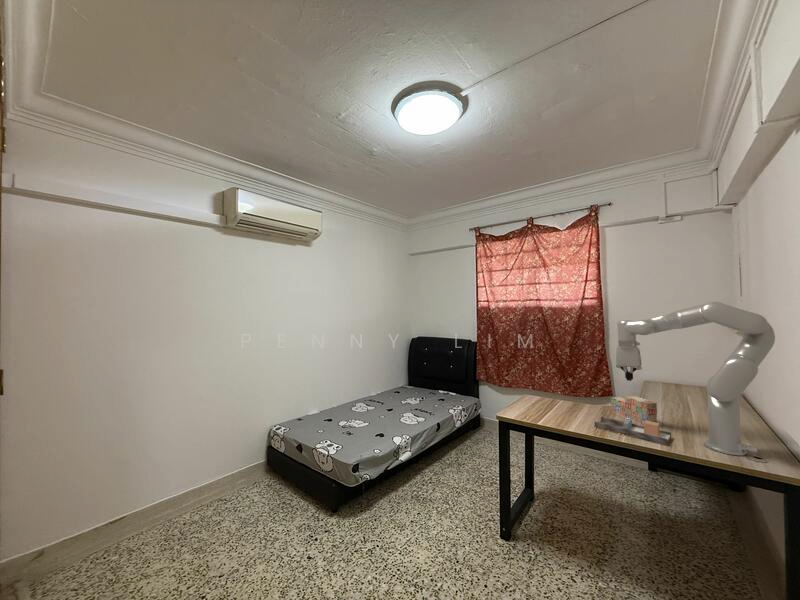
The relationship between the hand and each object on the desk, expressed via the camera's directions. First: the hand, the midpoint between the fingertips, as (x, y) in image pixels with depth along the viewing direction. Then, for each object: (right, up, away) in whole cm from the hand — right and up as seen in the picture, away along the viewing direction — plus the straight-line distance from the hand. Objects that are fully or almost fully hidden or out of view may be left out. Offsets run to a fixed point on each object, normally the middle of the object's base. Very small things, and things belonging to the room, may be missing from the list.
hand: (629, 380), depth 158 cm
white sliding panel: (-1, -22, -12) cm, 25 cm away
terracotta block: (0, -22, -14) cm, 25 cm away
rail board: (-5, -24, -8) cm, 25 cm away
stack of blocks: (+10, -25, +11) cm, 29 cm away
